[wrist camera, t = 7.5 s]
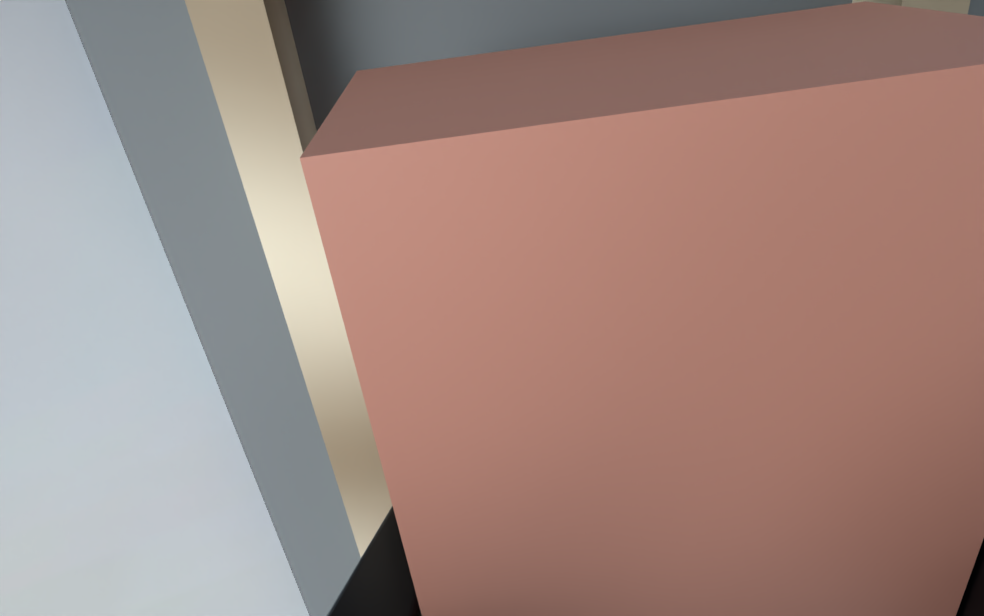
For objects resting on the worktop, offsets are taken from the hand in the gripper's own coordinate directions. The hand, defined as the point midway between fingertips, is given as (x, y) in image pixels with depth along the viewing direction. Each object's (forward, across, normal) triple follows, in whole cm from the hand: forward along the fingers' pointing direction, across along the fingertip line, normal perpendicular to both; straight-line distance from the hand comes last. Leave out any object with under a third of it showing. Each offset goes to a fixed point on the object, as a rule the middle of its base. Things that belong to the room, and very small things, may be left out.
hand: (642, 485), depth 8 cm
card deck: (+1, 0, 0) cm, 1 cm away
